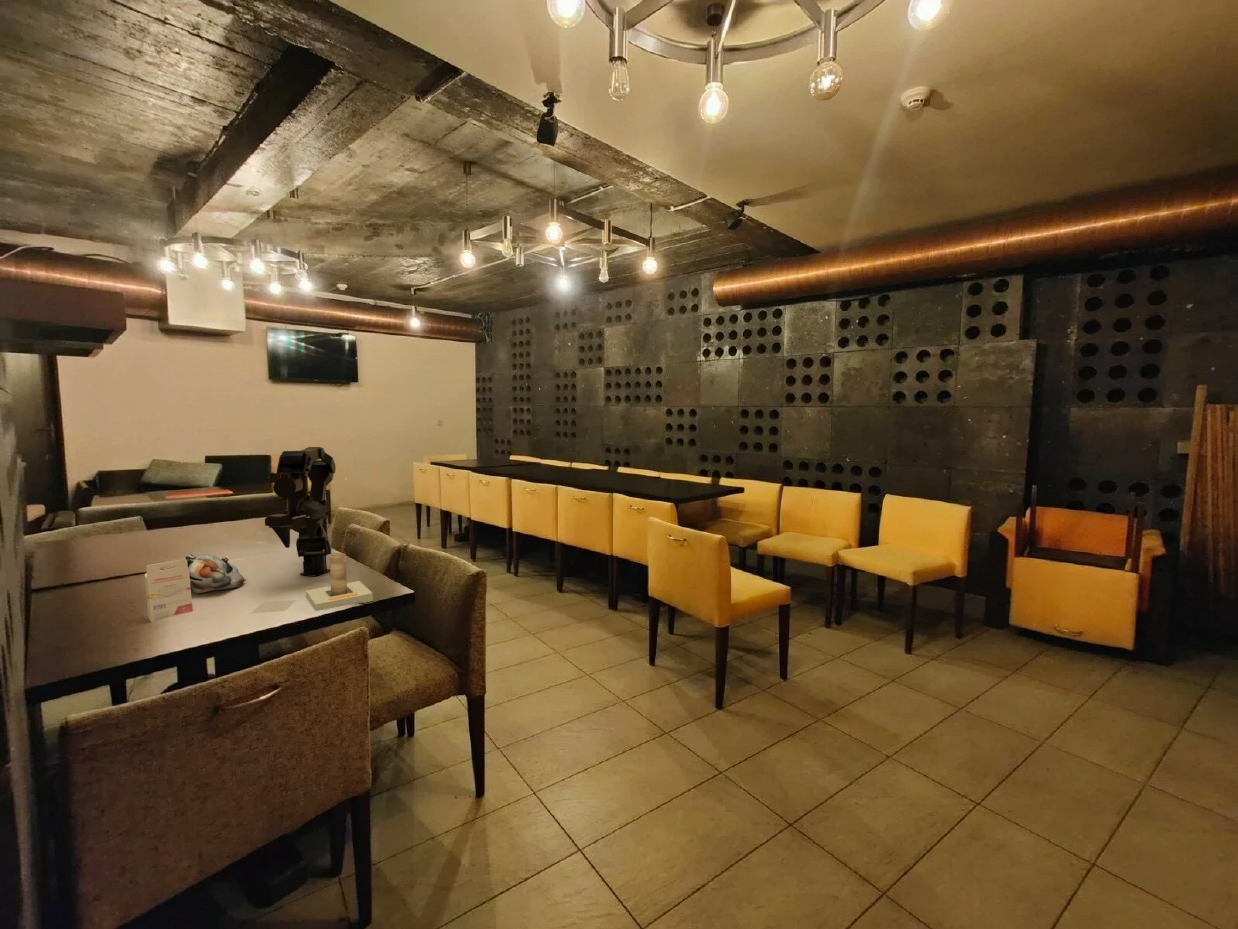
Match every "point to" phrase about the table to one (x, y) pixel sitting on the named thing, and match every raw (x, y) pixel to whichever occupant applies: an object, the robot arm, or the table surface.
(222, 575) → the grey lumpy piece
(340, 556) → the birch peg
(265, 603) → the tab
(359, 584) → the socket block
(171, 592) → the ink cartridge box
